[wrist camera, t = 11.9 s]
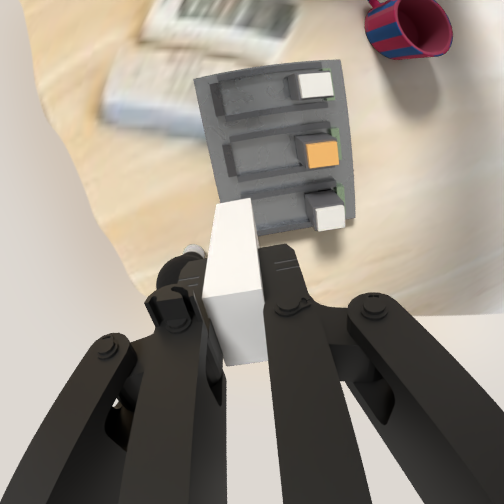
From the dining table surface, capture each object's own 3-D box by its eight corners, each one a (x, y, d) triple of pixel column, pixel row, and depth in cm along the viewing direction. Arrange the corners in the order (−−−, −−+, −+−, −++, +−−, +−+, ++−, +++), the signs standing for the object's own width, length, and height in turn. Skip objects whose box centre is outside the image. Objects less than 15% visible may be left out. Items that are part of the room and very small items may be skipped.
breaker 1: (287, 76, 24) (295, 72, 20) (318, 73, 24) (332, 69, 20) (291, 100, 25) (300, 100, 22) (322, 96, 25) (336, 97, 21)
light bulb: (169, 225, 33) (146, 275, 24) (221, 228, 33) (216, 279, 25) (171, 270, 36) (154, 327, 27) (219, 272, 36) (215, 331, 28)
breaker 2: (304, 194, 30) (314, 209, 26) (332, 189, 30) (346, 204, 26) (306, 215, 31) (316, 233, 27) (334, 211, 31) (347, 228, 27)
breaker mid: (294, 136, 27) (304, 143, 23) (324, 132, 27) (338, 139, 23) (298, 160, 28) (307, 171, 25) (327, 156, 28) (341, 166, 24)
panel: (195, 79, 26) (192, 78, 24) (335, 61, 25) (342, 58, 23) (229, 233, 34) (228, 243, 32) (351, 212, 33) (357, 220, 31)
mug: (387, 69, 25) (421, 67, 19) (332, -6, 21) (356, -27, 15) (426, 47, 23) (463, 43, 17) (377, -25, 19) (406, -43, 13)
